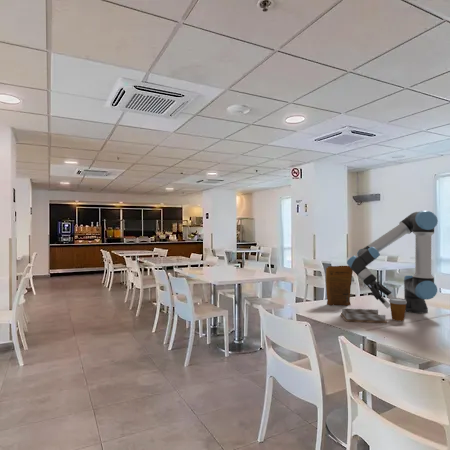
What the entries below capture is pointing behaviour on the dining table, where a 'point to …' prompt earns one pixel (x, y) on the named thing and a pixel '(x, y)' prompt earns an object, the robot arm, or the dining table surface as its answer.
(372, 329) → the dining table surface
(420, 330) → the dining table surface
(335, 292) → the pancake mix bag
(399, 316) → the disposable coffee cup
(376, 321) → the rail board
